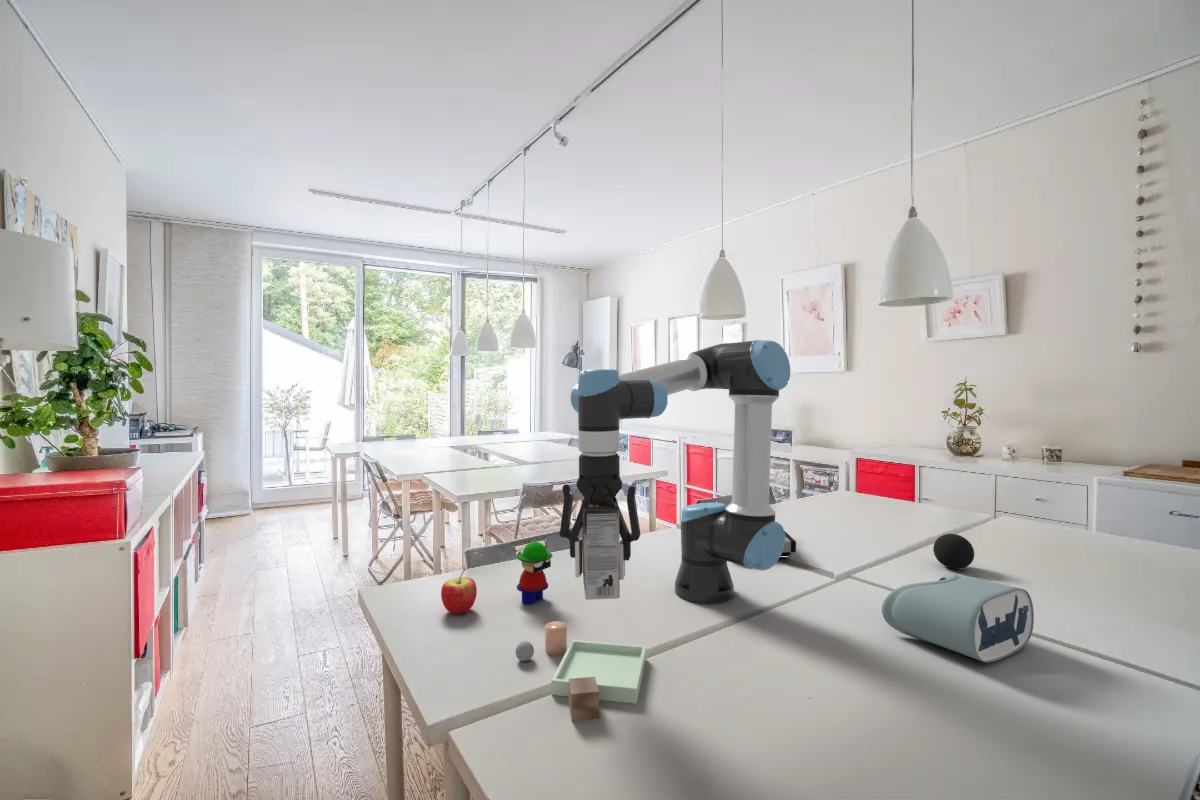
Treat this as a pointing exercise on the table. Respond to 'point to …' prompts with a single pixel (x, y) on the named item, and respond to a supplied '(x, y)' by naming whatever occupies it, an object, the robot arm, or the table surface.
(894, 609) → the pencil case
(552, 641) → the peach rounded cylinder
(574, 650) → the tray
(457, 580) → the apple
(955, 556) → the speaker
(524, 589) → the toy
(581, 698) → the walnut cube
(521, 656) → the grey ball
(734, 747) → the table surface
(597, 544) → the coffee box
